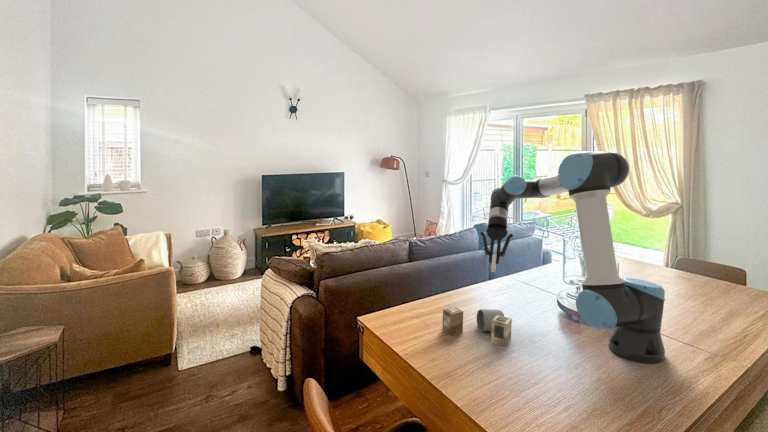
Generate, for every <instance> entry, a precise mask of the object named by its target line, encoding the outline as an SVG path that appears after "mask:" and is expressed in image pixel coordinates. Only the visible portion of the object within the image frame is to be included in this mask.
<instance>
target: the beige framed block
mask: <svg viewBox="0 0 768 432" xmlns="http://www.w3.org/2000/svg"><path fill="white" fill-rule="evenodd" d="M512 321H513V319H512V318H511V317H507V316H504V317H503V316H499V315H497V316H496V317H495V318H494V319H493V320H492V331H491V334H490V335H491V338H490V343H491V344H494V345H497V346H501V347H507V346H508V345H509V344H510V343H511V341H512V338H511V337H512V323H513V322H512Z"/></svg>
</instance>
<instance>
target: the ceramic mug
mask: <svg viewBox="0 0 768 432" xmlns="http://www.w3.org/2000/svg"><path fill="white" fill-rule="evenodd" d="M497 315H499V316H503V317H505V314H504V313H503V311H502V310H501V309H494V308H493V309H489V308H488V309H487V308H485V309H483V308H482V309H478V310H477V313H476V325H477V328H478V330H479V331H480V332H492V320H493V319H494V318H495V317H496V316H497Z"/></svg>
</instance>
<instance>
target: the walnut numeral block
mask: <svg viewBox="0 0 768 432" xmlns="http://www.w3.org/2000/svg"><path fill="white" fill-rule="evenodd" d="M441 328H442V329H441V331H442V332H444V333H445V334H447V335H449V336H451V337H453V336H457V335H460V334H463V331H464V311H463V310H461V309H460V308H458V307H456V306H451V307H447V308H443V309H442V327H441Z"/></svg>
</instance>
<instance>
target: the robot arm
mask: <svg viewBox="0 0 768 432" xmlns="http://www.w3.org/2000/svg"><path fill="white" fill-rule="evenodd" d="M557 170H558V171H557V174H553V175H550V176H545V177H542V178H538V179H525V178H524V177H522V176H519V175H517V174H516V175H515V174H514V175H512V176H510V177H509V178H508V179H507V180H506V181H504V184H502V186H501V187H497V188H494V189H493V190H492V191H491V195H490V205H489V211H488V212H489V213H488V223H487V229H486V230H485V231H481V232H480V238H481V239H482V243H483V249H484V255H485V256H488V263H489V264H491V266H490V271H491V273H496V267H497V265H499V264H500V259H501V257H505V256H506V253H507V250H508V248H509V245H510V242H511V241H512V240H513V239H514V238H513V237H514V234H513V233H509V232H508V230H507V229H508V219H509V218H508V216H509V206H510V205H511V204H512V203H513V202H514V201H515V200H517V199H518V200H519V199H538V198H539V199H544V198H549V197H551V196H553V195H559V194H563V193H568V197H569V198H570V199H571V200H573V201H574V202H575V208H576V215H577V223H578V230H579V236H580V243H581V251H582V257H583V264H584V271H585V278H584V280H583V281H582V282H581V287H582V290H581V291H580V292H579V293H578V294H577V296H576V297H575V298H576V299H575V307H576V310H577V313H578V314H579V316H580V318H581V319H582V320H583V321H584V322H585V323H586V324H587V325H588V326H589V327H591V328H594V329H599V330H604V329H607V330H609V329H613V331H612V332H611V334H610V336H609V338H608V349H610V351H611V352H613V353H614V354H616V355H618V356H620V357H621V358H624V359H626V360H630V361H633V362H638V363H643V364H657V363H662V362H663V361H664V360H665V356H666V350H665V346H664V345H665V344H664V342H663V339H662V338H663V337H662V334H661V330H662V329H661V328H662V321H663V313H664V305H665V301H666V297H665V295H666V291H665V289H664V288H663V287H662V286H661V285H659V284H657V283H654V282H651V281H648V280H644V279H639V278H632V277H631V278H630V277H623V278H621V277H620V276H619V274H618V266H617V261H616V254H615V248H614V243H613V242H614V241H613V234H612V228H611V222H610V221H611V220H610V215H609V208H608V203H607V197H608V196H609V194H610V193H611V188H615V187H618V186H619V185H621V184H623V183H624V182H625V181H626V179H628V176H629V171H630V165H629V163H628V161H627V159H626V157H624V156H623V155H622V154H619V153H618V152H614V151H588V150H582V151H575V152H572V153H569V154H567V155H566V156H565V157H564V158H563V159H562V161H561V163H560V164H559V166H558V169H557ZM487 236H488V238H489V239H490V243H489V244H490V245H489V247H490V248H488V241H487ZM505 237H506V238H505ZM503 239H505V242H504V244H503V247H502V246H501V245H502V244H501V243H502V241H503ZM495 241H497V242H496V243H497V244H496V253H494V249H495V248H494V247H495ZM501 247H502V250H501Z"/></svg>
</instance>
